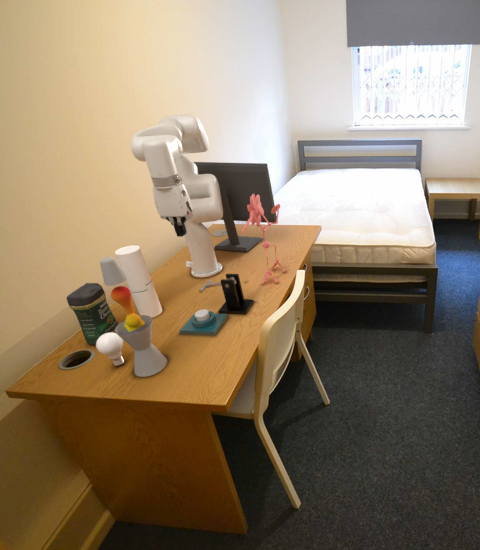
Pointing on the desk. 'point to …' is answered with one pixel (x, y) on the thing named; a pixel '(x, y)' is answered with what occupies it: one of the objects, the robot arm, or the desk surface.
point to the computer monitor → (240, 198)
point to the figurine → (255, 217)
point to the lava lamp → (133, 323)
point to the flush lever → (213, 284)
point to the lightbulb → (111, 347)
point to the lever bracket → (234, 297)
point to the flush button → (202, 315)
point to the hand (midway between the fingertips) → (182, 235)
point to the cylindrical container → (139, 280)
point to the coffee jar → (92, 311)
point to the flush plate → (204, 325)
